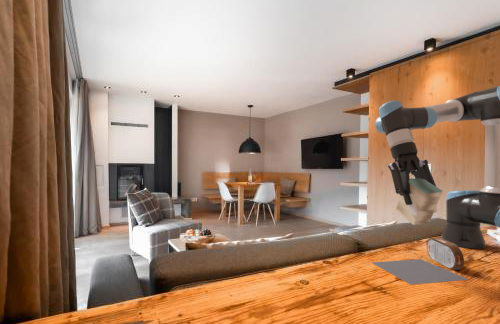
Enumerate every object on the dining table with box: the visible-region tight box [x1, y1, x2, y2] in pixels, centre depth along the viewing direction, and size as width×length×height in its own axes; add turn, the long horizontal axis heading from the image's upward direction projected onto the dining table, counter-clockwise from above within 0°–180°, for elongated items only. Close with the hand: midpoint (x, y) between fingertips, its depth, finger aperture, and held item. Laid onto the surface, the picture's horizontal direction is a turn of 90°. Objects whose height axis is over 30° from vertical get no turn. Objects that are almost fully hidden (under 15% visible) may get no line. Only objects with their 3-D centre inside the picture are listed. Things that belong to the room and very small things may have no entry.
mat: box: [370, 258, 470, 285], centre depth 86 cm, size 20×17×1 cm
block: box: [395, 177, 443, 226], centre depth 87 cm, size 6×8×12 cm
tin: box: [426, 236, 465, 271], centre depth 92 cm, size 15×3×8 cm, turn 179°
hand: (424, 213), depth 85 cm, fingers closed on block, 6 cm apart
